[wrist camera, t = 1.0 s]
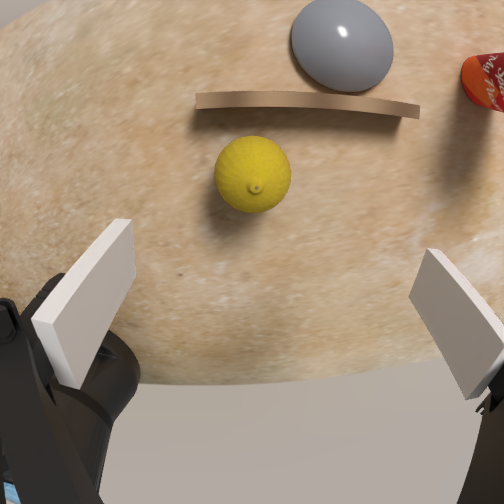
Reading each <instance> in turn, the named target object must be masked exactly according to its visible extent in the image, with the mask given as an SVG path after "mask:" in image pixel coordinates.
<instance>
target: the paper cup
mask: <svg viewBox="0 0 504 504" xmlns="http://www.w3.org/2000/svg"><path fill="white" fill-rule="evenodd" d="M461 78H462V84H463V87H464V90H465V92H466V94H467V96H468V97H469V98H470V99H471V100H472V101H473V102H474V103H475V104H477V105H480V106H483V107H486V108H489V109H493V110H496V111H500V112H503V113H504V53H493V54H484V55H477V56H472V57H470V58H468V59H467V60H466V61H465V62H464V64H463V66H462V71H461Z"/></svg>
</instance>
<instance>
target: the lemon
mask: <svg viewBox="0 0 504 504" xmlns="http://www.w3.org/2000/svg"><path fill="white" fill-rule="evenodd" d="M214 176H215V183H216V186H217V188H218V191H219V193H220V195H221V196H222V197H223V199H224V200H225V201H226V202H227V203H228V204H229V205H231V206H232V207H233V208H235V209H238V210H240V211H242V212H247V213H260V212H264V211H267V210H269V209H271V208H273V207H275V206H276V205H277V204H278V203H279V202H280V201H281V200H282V199H283V198H284V196H285V195H286V193H287V191H288V188H289V185H290V182H291V169H290V164H289V161H288V159H287V157H286V155H285V153H284V152H283V150H282V149H281V148H280V147H279V146H278V145H277V144H275V143H274V142H272V141H271V140H269V139H266V138H264V137H261V136H245V137H241V138H238V139H236V140H234V141H232V142H231V143H230V144H228V145H227V146H226V147H225V148H224V149H223V150H222V152H221V153H220V155H219V157H218V159H217V162H216V164H215V172H214Z"/></svg>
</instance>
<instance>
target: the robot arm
mask: <svg viewBox="0 0 504 504" xmlns="http://www.w3.org/2000/svg"><path fill="white" fill-rule="evenodd" d="M136 276H137V273H136V263H135V252H134V240H133V227H132V220H131V219H117V218H116V219H115V220H114V221H113V222H112V223H111V224H110V225H109V226H108V227H107V228H106V229H105V230H104V231H103V232H102V234H101V235H100V236H99V237H98V238H97V239H96V240H95V241H94V242H93V243H92V245H91V246H90V247H89V248H88V249H87V250H86V251H85V252H84V254H83V255H82V256H81V257H80V258H79V259H78V260H77V262H76V263H75V264H74V265H73V266H72V267H71V269H70V270H69V271H68V272H67V273H66V274H65V273H59V274H57V275H56V276H54V277H53V278H51V279H50V280H49V281H48V282H47V283H46V284H45V285H44V286H43V288H42V290H40V291H39V292H38V294H37V295H36V298H34V299H33V300H32V301H31V302H30V304H29V305H28V306H27V307H26V309H25V310H24V311H23V312H22V314H21V315H20V316H19V313H18V311H17V308H16V306H15V303H14V302H13V301H12V300H10V299H7V298H0V504H6V500H8V501H11V502H13V503H15V504H104V503H103V501H102V500H101V498H100V496H99V488H100V482H101V477H102V472H103V467H104V462H105V457H106V453H107V448H108V443H109V439H110V434H111V430H112V426H113V423H114V421H115V420H116V418H117V417H118V416H119V414H120V413H121V412H122V410H123V409H124V408H125V406H126V405H127V404H128V402H129V401H130V400H131V398H132V397H133V396H134V394H135V392H136V390H137V386H138V382H139V378H140V367H139V364H138V361H137V359H136V357H135V355H134V354H133V352H132V351H131V350H130V348H129V347H128V346H127V345H126V344H125V343H124V342H123V341H122V340H121V339H120V338H119V337H118V336H116V335H115V334H114V333H112V332H111V331H109V330H108V329H109V327H110V325H111V323H112V321H113V319H114V317H115V315H116V313H117V311H118V309H119V307H120V306H121V304H122V302H123V300H124V298H125V296H126V294H127V292H128V291H129V289H130V287H131V285H132V283H133V281H134V280H135V278H136ZM409 298H410V300H411V302H412V303H413V305H414V306H415V308H416V310H417V311H418V313H419V315H420V316H421V318H422V320H423V321H424V323H425V325H426V327H427V328H428V330H429V332H430V333H431V335H432V337H433V339H434V340H435V342H436V344H437V346H438V348H439V349H440V351H441V353H442V355H443V357H444V359H445V360H446V362H447V364H448V366H449V368H450V370H451V372H452V374H453V376H454V377H455V379H456V381H457V383H458V385H459V387H460V389H461V391H462V393H463V395H464V397H465V400H468V399H472V398H477V397H479V396H480V395H481V394H482V393H483V391H484V390H485V389H486V388H487V386H488V387H489V389H490V391H491V392H490V393H489V394H488V396H487V397H486V398H485V399H484V401H483V402H482V403H481V404H480V405H479V406H478V408H477V409H476V412H478V411H479V410H480V409H481V408H484V410H483V411H482V412H481V413H480V414H481V415H483V416H482V422H481V425H480V430H479V434H478V438H477V442H476V446H475V450H474V454H473V457H472V461H471V464H470V467H469V471H468V473H467V476H466V479H465V482H464V485H463V488H462V491H461V494H460V496H459V499H458V502H457V504H504V324H503V323H502V321H500V319H499V318H498V316H497V315H496V314H495V313H494V311H493V310H492V309H491V308H490V307H489V306H488V304H487V303H486V302H485V301H484V299H483V298H482V297H481V296H480V295H479V293H478V292H477V291H476V290H475V289H474V288H473V286H472V285H471V284H470V283H469V282H468V281H467V279H466V278H465V277H464V276H463V275H462V274H461V273H460V272H459V270H458V269H457V268H456V267H455V266H454V265H453V264H452V263H451V262H450V261H449V260H448V258H447V257H446V256H445V255H444V254H443V253H442V252H441V251H440V250H438V249H430V248H427V249H426V252H425V255H424V258H423V261H422V263H421V266H420V269H419V272H418V274H417V277H416V279H415V282H414V284H413V287H412V289H411V292H410V294H409Z"/></svg>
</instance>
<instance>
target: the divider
mask: <svg viewBox="0 0 504 504" xmlns="http://www.w3.org/2000/svg"><path fill="white" fill-rule="evenodd" d="M223 107H307V108H326V109H340V110H351V111H362V112H371V113H379V114H387V115H395V116H401V117H408V118H414V119H419V115H420V106H419V105H413V104H408V103H402V102H396V101H389V100H383V99H375V98H368V97H359V96H350V95H340V94H328V93H313V92H292V91H232V92H210V93H196V109H205V108H223Z"/></svg>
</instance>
